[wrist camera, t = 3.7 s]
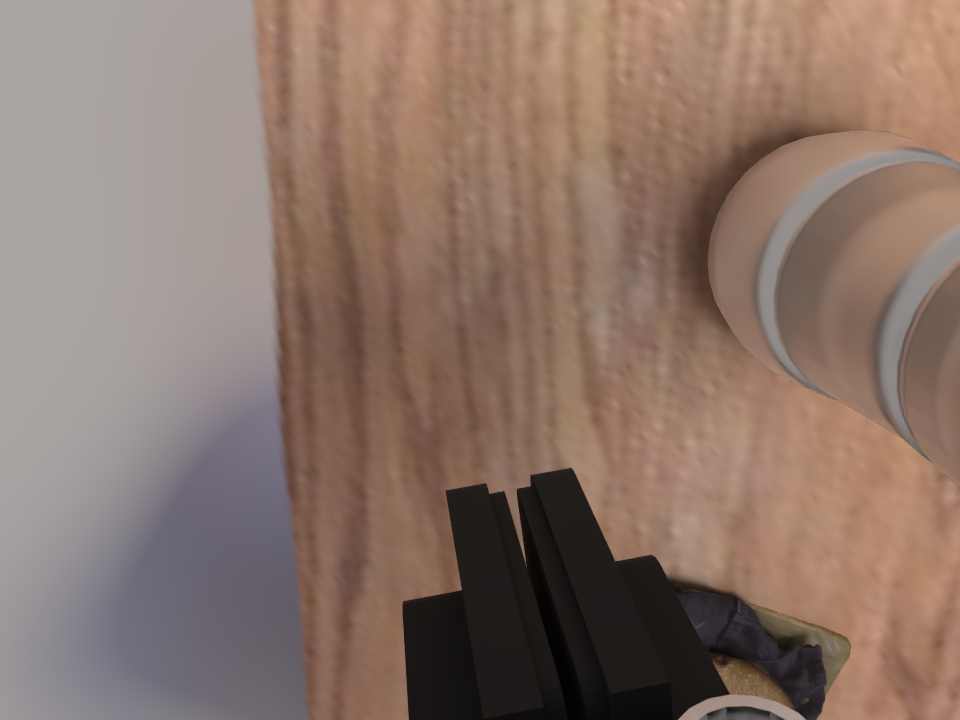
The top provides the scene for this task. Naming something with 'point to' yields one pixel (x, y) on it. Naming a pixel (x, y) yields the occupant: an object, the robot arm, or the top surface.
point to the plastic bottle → (852, 279)
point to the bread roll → (766, 650)
